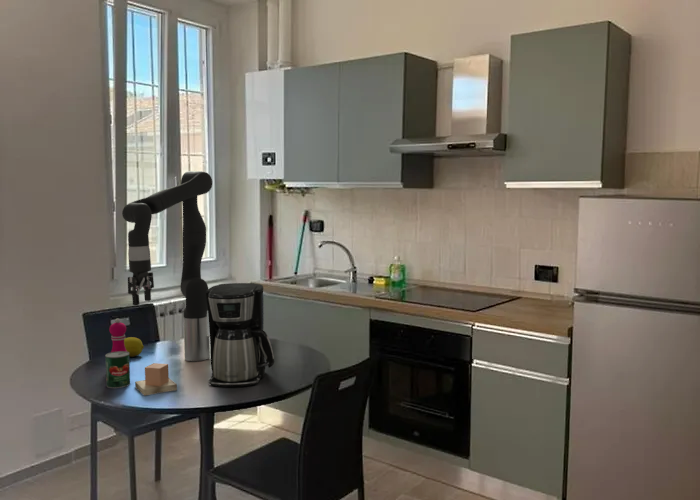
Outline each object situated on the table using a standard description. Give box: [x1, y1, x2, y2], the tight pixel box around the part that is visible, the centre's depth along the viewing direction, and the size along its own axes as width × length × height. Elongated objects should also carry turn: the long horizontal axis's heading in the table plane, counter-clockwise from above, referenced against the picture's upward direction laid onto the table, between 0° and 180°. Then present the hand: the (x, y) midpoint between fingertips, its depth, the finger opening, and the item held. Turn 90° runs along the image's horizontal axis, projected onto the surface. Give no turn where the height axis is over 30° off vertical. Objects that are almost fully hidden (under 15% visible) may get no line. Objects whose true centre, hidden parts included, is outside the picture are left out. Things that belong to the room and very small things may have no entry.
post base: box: [134, 377, 178, 397], centre depth 215 cm, size 11×11×7 cm
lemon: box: [124, 336, 145, 358], centre depth 257 cm, size 11×8×8 cm
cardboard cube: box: [144, 362, 170, 386], centre depth 214 cm, size 6×6×6 cm
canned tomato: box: [104, 351, 131, 389], centre depth 219 cm, size 8×8×11 cm
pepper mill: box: [108, 318, 127, 353], centre depth 236 cm, size 7×7×20 cm
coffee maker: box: [206, 282, 275, 388], centre depth 229 cm, size 23×32×34 cm
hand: (142, 302), depth 228 cm, fingers open, 8 cm apart
